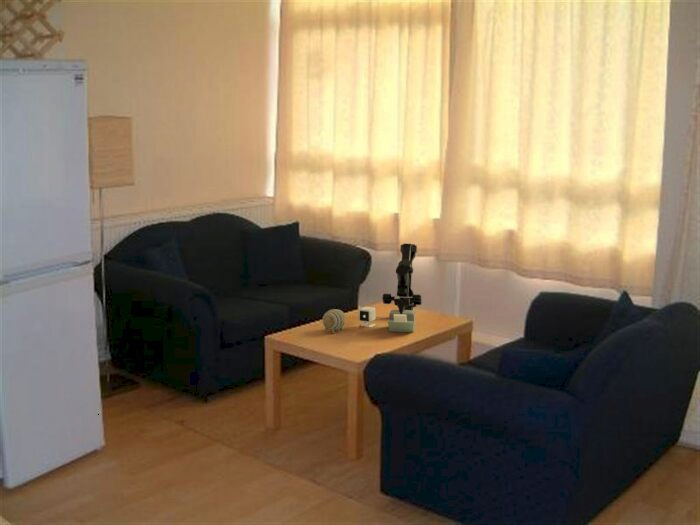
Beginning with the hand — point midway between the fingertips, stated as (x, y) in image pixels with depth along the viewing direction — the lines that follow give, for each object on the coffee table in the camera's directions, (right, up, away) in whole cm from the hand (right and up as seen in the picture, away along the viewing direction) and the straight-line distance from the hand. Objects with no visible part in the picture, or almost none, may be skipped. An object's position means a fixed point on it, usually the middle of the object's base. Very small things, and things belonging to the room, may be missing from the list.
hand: (400, 314), depth 398 cm
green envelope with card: (+1, -9, +5) cm, 10 cm away
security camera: (-16, -8, +16) cm, 23 cm away
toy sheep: (-32, -9, +9) cm, 34 cm away
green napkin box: (+1, -9, +10) cm, 13 cm away
